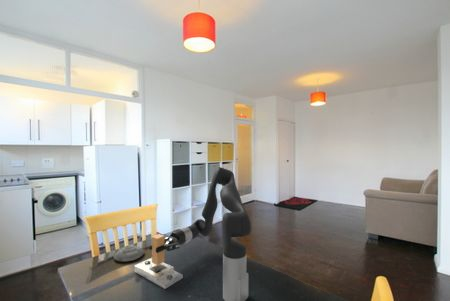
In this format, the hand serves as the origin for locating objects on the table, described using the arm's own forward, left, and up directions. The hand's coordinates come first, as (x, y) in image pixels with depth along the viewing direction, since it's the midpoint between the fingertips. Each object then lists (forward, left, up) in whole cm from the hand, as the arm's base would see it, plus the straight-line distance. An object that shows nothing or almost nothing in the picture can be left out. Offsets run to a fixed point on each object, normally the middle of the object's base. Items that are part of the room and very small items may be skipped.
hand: (153, 249), depth 102 cm
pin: (0, -3, -7) cm, 8 cm away
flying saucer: (+27, -5, -13) cm, 30 cm away
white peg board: (0, -3, -13) cm, 13 cm away
